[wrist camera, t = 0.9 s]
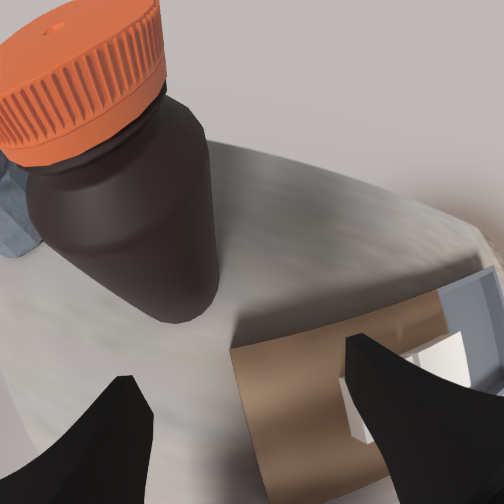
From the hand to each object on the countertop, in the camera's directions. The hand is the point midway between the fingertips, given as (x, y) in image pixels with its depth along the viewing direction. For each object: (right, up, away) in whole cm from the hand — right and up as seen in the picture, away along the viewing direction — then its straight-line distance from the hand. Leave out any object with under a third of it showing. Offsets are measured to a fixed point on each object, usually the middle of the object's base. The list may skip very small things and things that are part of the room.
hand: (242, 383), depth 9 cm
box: (+22, -5, +13) cm, 26 cm away
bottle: (-6, +2, +14) cm, 15 cm away
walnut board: (+8, -7, +11) cm, 16 cm away
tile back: (+14, -5, +9) cm, 17 cm away
